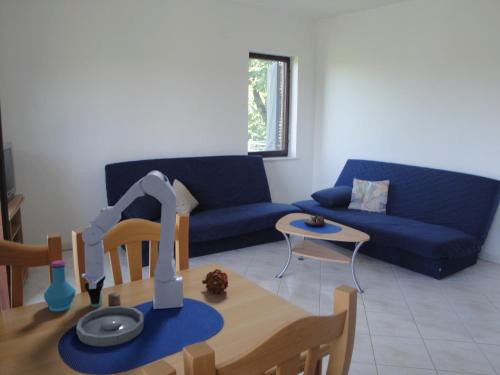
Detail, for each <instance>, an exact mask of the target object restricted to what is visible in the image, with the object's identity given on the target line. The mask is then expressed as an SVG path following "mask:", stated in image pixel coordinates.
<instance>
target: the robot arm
mask: <svg viewBox="0 0 500 375" xmlns="http://www.w3.org/2000/svg"><path fill="white" fill-rule="evenodd" d="M146 194H147V195H149V196H150V197H151V196H152V197H154V198H155V199H156V200H158V202H160V203H161V211H160V212H161V215H160V227H159V228H160V230H159V245H158V246H159V247H158V255H157V260H156V264H155V267H154V270H153V287H154V288H153V290H154V291H153V298H152V307H153V310H160V309H172V308H182V307H183V306H184V283H183V282H184V281H183V276H177V274H176V273H175V268H176V265H177V261H176V258H175V256H174V255H175V253H174V252H175V250H174V246H175V233H176V219H177V218H176V217H177V206H178V205H177V203H178V196H177V194H176V192H175V190H174V188H173V186H172V185H171V183H170V180H169V178H168V177H167V176H166V175H165V174H163V173H162V172H161V171H159V170H152V171H151V170H150V171H149V172H147V174H146V175H145V176H143V177H142V178H140V179H139V180H138V181H136V182H135V183H134V184H132V185H131V187H130V188H129V189H128V190H127V191H126V192H125V194H124V195H122V197H121V198H120V199H119V200H118V201H117V202H116V203H115V204H114V205H113V206H109V205H108V206H106V207H105V208H104V207H103V208H102V209H101V210H100V211H99V212H100V214H98V215H97V216H96V217H95V219H92V220H91V221H89V223H90V224H89V225H88V226H87V227H85V228H84V230H83V231H82V233H81V240H82V242H83V243H84V266H85V270H84V271H85V273H82V274H81V278H82V279H85V280H86V281H87V282H85V283H84V289H85V290H86V292H87V294H88V295H89V301H90V300H91V303H92V304H99V301H100V293H101V290H103V287H104V285H105V280H106V277H107V276H106V272H105V250H104V249H105V246H104V237H105V236H106V234H108V233H109V232H110V230H112V228H113V227H115V225H117V224H118V223H119V221H120V220H121V219H122V212H124V211H125V209H126V208H128V207H129V206H130V205H131V204H132V203H133V202H134V200H136V199H137V198H139V197H143V196H146Z"/></svg>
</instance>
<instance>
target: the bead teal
mask: <svg viewBox="0 0 500 375" xmlns="http://www.w3.org/2000/svg"><path fill="white" fill-rule="evenodd" d="M102 290H103V289H102ZM102 290H101V293H100V301H99V304H92V303H91V300H90V299H89V304H90V305H89V306H90V307H91V308H100V307H102V306H103V293H102V292H103V291H102Z"/></svg>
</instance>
